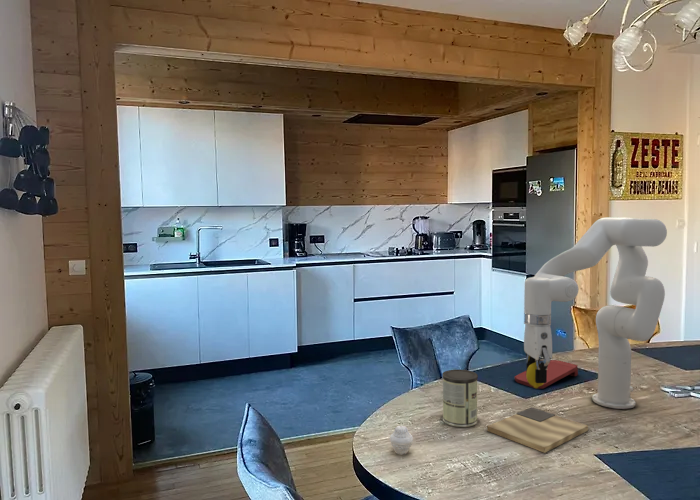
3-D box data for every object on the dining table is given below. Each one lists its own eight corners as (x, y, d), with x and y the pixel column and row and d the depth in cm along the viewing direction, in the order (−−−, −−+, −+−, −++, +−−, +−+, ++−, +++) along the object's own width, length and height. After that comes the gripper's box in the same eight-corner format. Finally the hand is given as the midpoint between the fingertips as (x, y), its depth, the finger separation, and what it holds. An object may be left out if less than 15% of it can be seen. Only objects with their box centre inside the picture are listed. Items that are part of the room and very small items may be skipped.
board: (531, 412, 165) (531, 407, 165) (587, 430, 151) (587, 424, 151) (487, 431, 152) (487, 425, 151) (544, 453, 138) (544, 446, 137)
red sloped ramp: (541, 399, 187) (582, 376, 200) (540, 386, 186) (582, 363, 199) (513, 390, 197) (554, 368, 210) (512, 377, 196) (553, 356, 209)
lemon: (547, 391, 156) (547, 364, 155) (527, 390, 157) (527, 364, 156) (544, 385, 161) (544, 359, 161) (525, 384, 162) (525, 358, 162)
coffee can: (445, 412, 166) (445, 367, 165) (479, 416, 163) (479, 370, 162) (439, 424, 156) (439, 377, 155) (475, 429, 153) (475, 381, 152)
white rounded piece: (396, 459, 135) (396, 432, 134) (385, 449, 140) (385, 423, 140) (417, 454, 137) (417, 428, 137) (405, 445, 143) (405, 419, 142)
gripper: (563, 325, 149) (562, 388, 151) (537, 313, 166) (536, 370, 168) (537, 325, 149) (536, 389, 150) (513, 314, 166) (512, 371, 167)
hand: (536, 378), depth 159 cm, fingers closed on lemon, 5 cm apart
